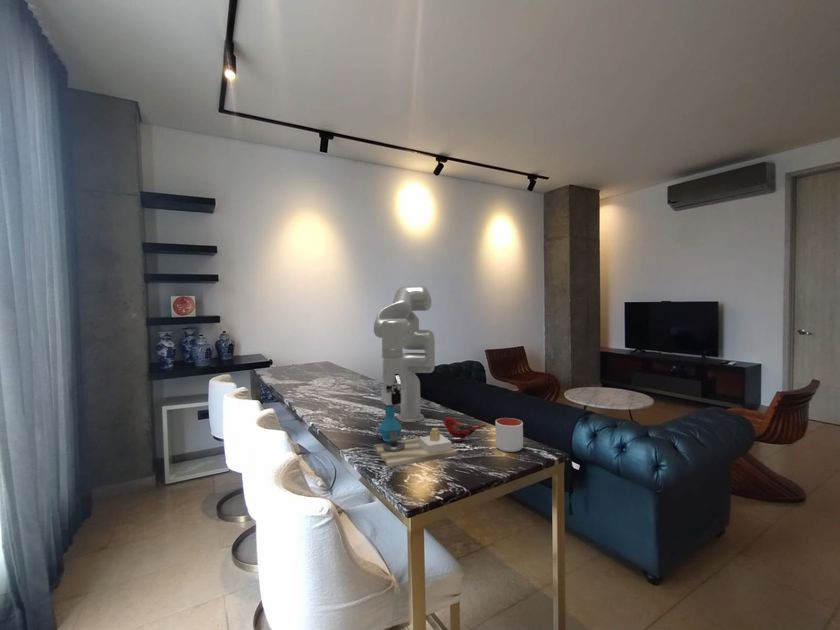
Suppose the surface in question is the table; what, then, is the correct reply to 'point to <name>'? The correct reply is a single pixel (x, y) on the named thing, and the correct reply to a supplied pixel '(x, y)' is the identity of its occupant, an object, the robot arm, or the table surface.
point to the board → (410, 454)
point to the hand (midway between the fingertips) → (393, 401)
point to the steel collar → (390, 396)
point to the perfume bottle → (389, 424)
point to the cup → (509, 434)
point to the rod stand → (393, 444)
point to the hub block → (434, 442)
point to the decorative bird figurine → (459, 428)
